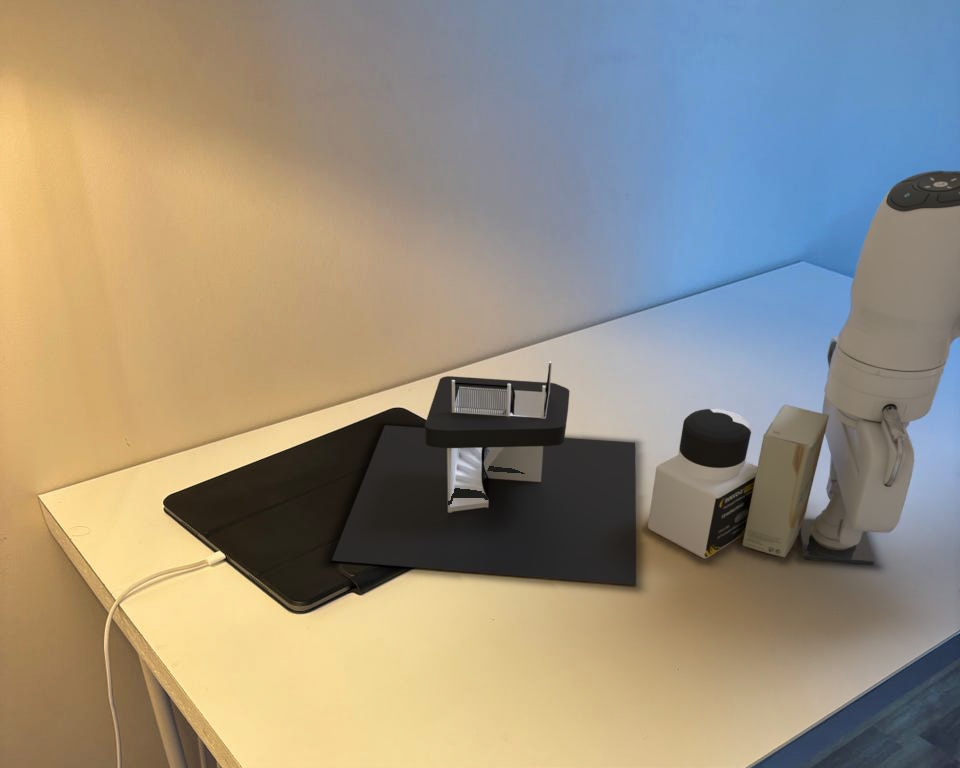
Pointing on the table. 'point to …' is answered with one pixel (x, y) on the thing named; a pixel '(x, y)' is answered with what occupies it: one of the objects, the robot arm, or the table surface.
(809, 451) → the cosmetic box
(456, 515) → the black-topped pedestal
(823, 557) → the slate coaster
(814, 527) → the rook chess piece
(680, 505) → the medicine bottle
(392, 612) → the table surface
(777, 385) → the table surface
